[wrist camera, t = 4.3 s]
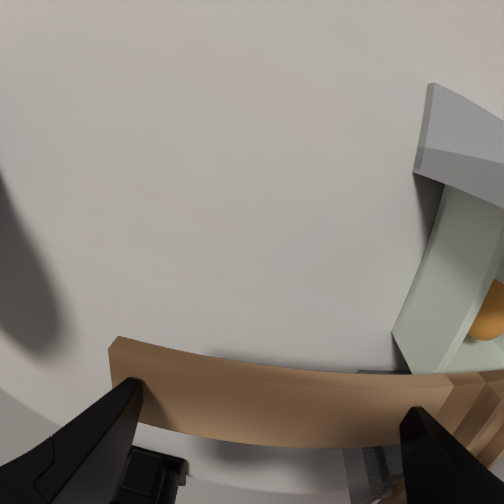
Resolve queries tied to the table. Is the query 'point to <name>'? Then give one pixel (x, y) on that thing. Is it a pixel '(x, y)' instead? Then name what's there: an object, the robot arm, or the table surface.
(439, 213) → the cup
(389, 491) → the lever
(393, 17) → the table surface
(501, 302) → the ball
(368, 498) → the fulcrum
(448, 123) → the backboard
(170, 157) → the table surface
